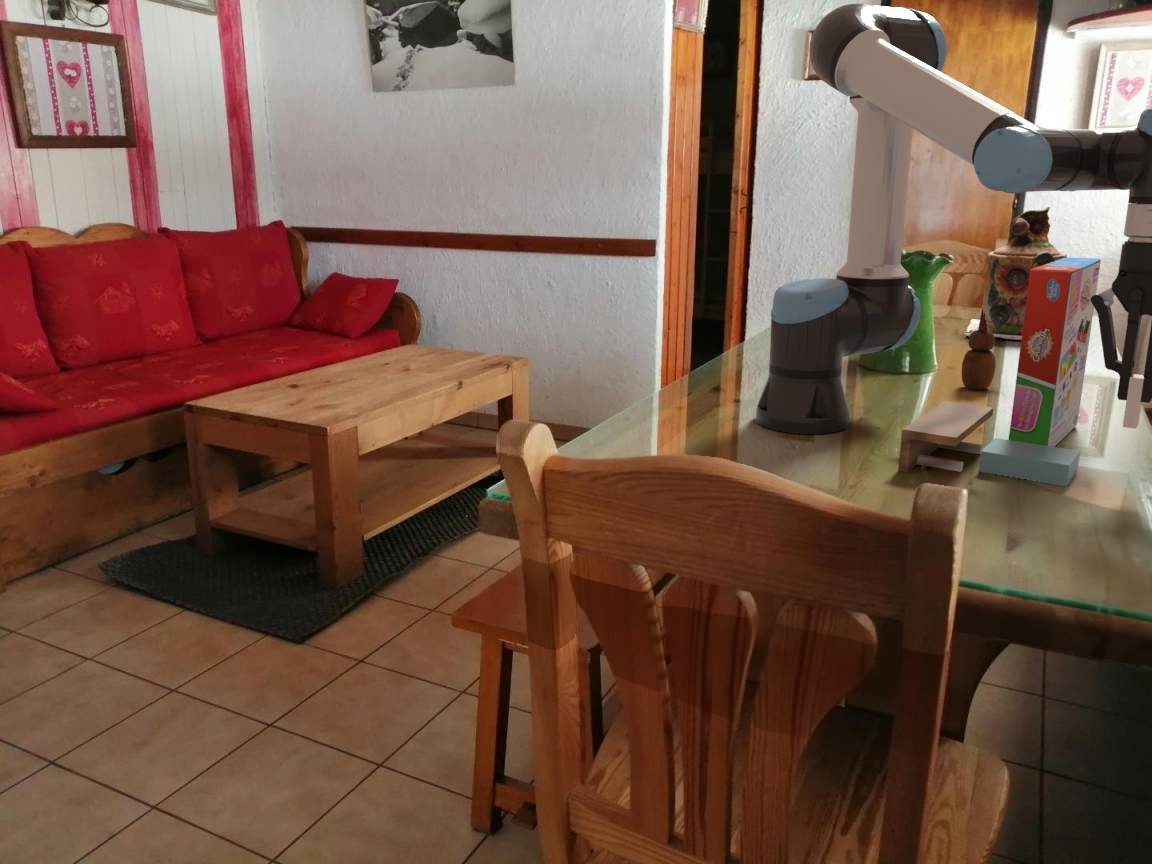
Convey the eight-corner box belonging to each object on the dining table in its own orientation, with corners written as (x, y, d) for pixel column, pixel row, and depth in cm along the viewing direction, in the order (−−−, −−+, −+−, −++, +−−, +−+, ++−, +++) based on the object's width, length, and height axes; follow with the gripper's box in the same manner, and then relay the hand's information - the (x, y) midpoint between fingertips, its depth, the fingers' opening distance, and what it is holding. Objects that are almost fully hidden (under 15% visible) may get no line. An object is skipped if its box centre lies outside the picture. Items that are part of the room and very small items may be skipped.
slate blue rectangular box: (978, 471, 126) (981, 451, 125) (992, 457, 132) (995, 437, 131) (1066, 486, 120) (1069, 465, 119) (1077, 471, 126) (1080, 450, 125)
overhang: (898, 470, 127) (902, 429, 125) (940, 437, 142) (944, 400, 141) (951, 480, 123) (956, 437, 121) (988, 445, 138) (993, 407, 136)
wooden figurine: (962, 383, 179) (971, 307, 175) (994, 386, 176) (1003, 309, 172) (957, 390, 173) (965, 312, 169) (989, 393, 170) (999, 314, 166)
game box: (1041, 421, 151) (1063, 256, 144) (1077, 427, 148) (1102, 258, 140) (1006, 450, 136) (1029, 267, 128) (1045, 457, 132) (1072, 269, 125)
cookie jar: (969, 324, 248) (982, 204, 239) (1070, 330, 238) (1088, 205, 229) (963, 339, 227) (977, 207, 218) (1074, 346, 216) (1094, 208, 208)
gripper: (1093, 240, 112) (1069, 424, 118) (1221, 242, 104) (1188, 439, 110) (1102, 237, 117) (1079, 413, 124) (1224, 239, 110) (1193, 426, 116)
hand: (1130, 425), depth 117 cm, fingers closed
